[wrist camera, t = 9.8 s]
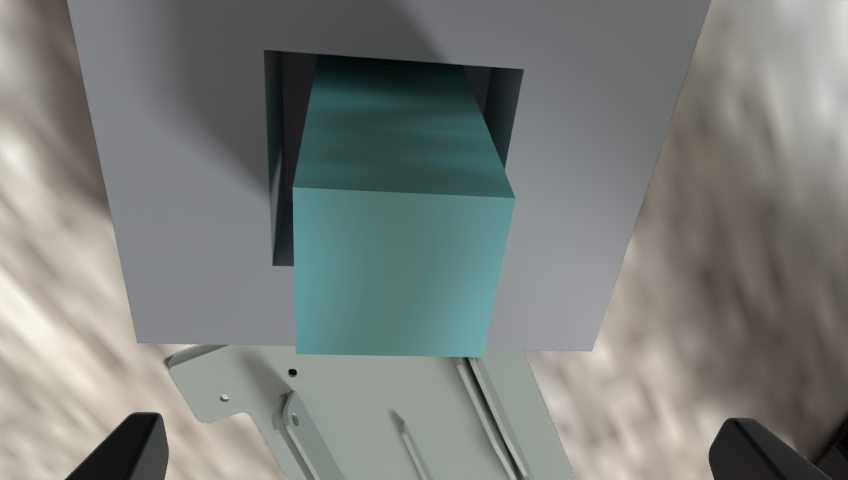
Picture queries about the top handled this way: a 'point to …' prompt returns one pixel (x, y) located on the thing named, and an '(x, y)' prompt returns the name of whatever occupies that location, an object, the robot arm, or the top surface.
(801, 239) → the top surface
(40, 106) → the top surface
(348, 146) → the teal peg
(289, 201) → the well block
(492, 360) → the metal bracket
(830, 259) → the top surface
